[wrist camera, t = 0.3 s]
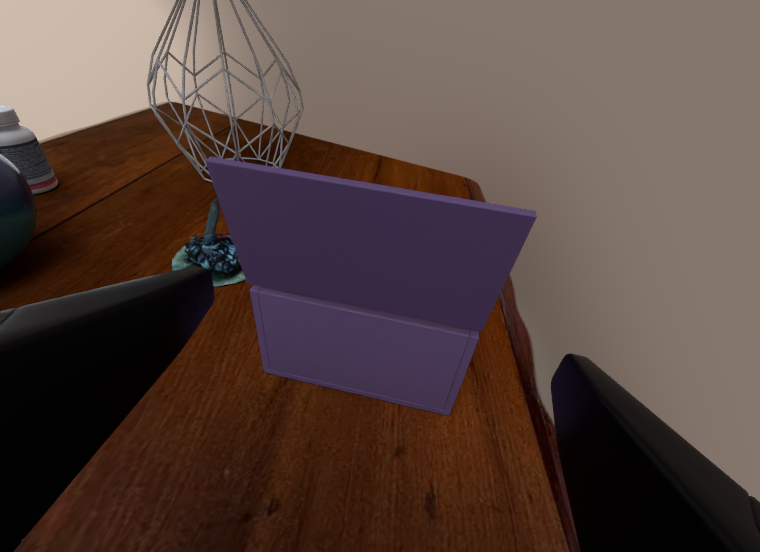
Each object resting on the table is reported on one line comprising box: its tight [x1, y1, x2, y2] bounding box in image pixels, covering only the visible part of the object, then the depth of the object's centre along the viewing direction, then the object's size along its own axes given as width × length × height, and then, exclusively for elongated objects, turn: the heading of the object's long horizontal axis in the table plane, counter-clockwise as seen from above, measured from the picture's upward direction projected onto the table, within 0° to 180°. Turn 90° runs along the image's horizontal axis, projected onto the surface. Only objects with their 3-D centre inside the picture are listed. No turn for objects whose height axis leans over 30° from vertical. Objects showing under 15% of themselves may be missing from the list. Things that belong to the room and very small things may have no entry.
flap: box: [206, 157, 536, 332], centre depth 16 cm, size 7×13×1 cm
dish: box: [172, 198, 245, 286], centre depth 34 cm, size 8×7×8 cm
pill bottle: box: [0, 106, 58, 195], centre depth 39 cm, size 5×5×9 cm
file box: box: [250, 285, 479, 416], centre depth 27 cm, size 15×13×8 cm
